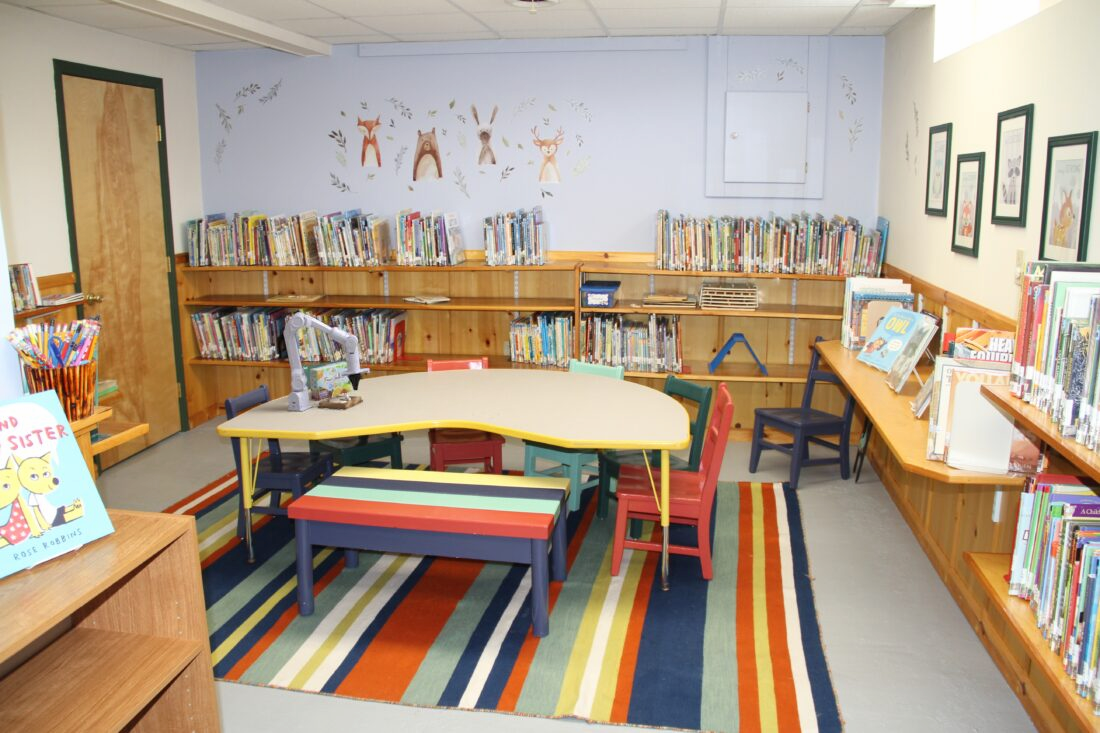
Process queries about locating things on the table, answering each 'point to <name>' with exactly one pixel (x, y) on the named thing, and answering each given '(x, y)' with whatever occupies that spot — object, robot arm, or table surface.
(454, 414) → the table surface
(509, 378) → the table surface
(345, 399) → the dial
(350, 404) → the dial board
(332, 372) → the snack box
